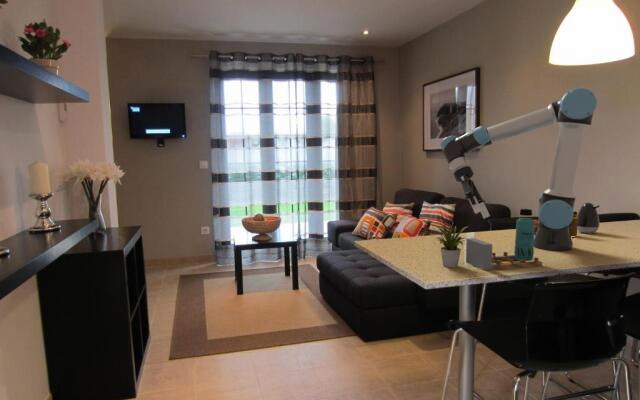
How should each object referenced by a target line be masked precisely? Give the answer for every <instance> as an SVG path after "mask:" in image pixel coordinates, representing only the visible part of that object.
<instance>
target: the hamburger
mask: <svg viewBox="0 0 640 400" xmlns="http://www.w3.org/2000/svg"><path fill="white" fill-rule="evenodd" d="M533 220H534V221H535V227H534V234H535V235H536V233H537V230H538V220H537V219H533Z"/></svg>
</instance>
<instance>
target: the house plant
mask: <svg viewBox="0 0 640 400" xmlns="http://www.w3.org/2000/svg"><path fill="white" fill-rule="evenodd" d="M432 225H433V226H434V227H435V231H436V232H437V233H439V235H440V236H441V237H440V236H438V237H436V238H434V239H435V240H437V242H438V241H439V245H441V244H443V246H441V247H440V254H441V255H440V256H441V260H442V266H443V267H447V268H457V267H458V266H459V263H460V257H461V256H460V255H461V250H462V248H461V247H458V246H459V245H460V244H461V245H463V244H464V243H463V242H464V241H465V242H466V240H463V239H465V237H462V236H460V234H461V233H462V232H463V231H465V230H466V229H467V228H469V226H464V227H463V228H462V229H460V231H458V232H457V225H455V226H454V227H453V225H454V222H452V224H451V226H450V229H449V230H448V229H447V226H446V225H445V224H444V223H443V222H442V223H441V227H439V226H437V225H436V224H433V223H432ZM437 228H438V230H437ZM456 232H457V233H456Z"/></svg>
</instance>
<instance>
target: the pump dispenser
mask: <svg viewBox="0 0 640 400" xmlns="http://www.w3.org/2000/svg"><path fill="white" fill-rule="evenodd" d="M599 208H600V205H599V204H598V205H594V204H593V203H591V202H585V203H583V204H582V206H580V209H579V210H578V212H577V217H578V226H577V232H580V233H581V232H584V233H583V234H586V233H592V234H595V233H596V232H597V231H598V230H599V228H600V218H599V213H598V210H597V209H599Z"/></svg>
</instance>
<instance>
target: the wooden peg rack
mask: <svg viewBox="0 0 640 400" xmlns="http://www.w3.org/2000/svg"><path fill="white" fill-rule="evenodd" d="M496 254H497V253H496V252H492V255H493V256H494V258H492V262H496V263H492V270H493V271H494V270H509V268H510V269H521V268H535V267H543V261H541V260H540V261H539V259H540V258H539V257H533V261H526V259H525V258H522V260H521V262H515V261H518V260H517V259H515V257H514V256H515V255H514V254H513V255H508V252H507V251H503V255H496ZM501 262H511V264H509V265H503V264H501Z"/></svg>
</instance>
